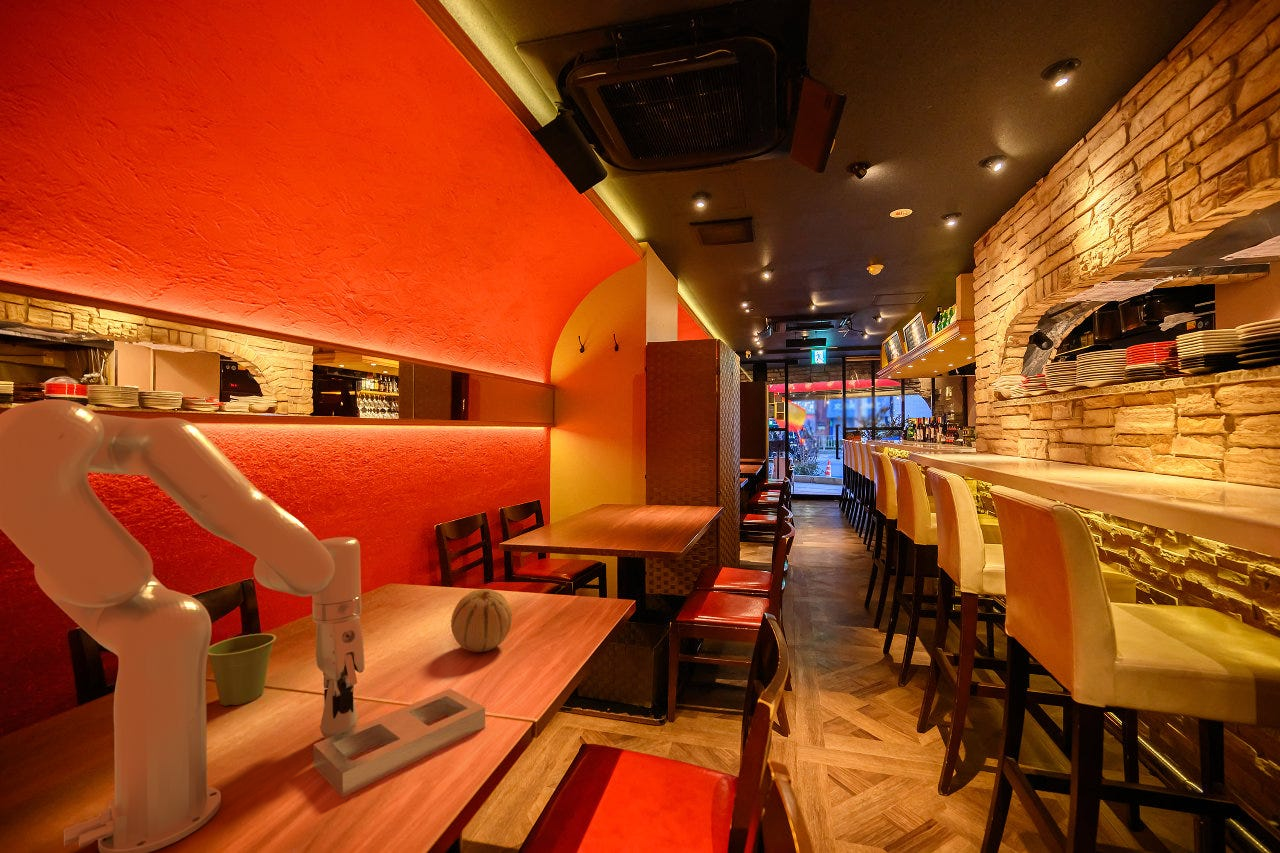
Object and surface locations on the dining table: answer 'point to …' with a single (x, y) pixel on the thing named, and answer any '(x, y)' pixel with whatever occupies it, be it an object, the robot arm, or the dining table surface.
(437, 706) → the beige compartment tray
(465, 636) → the cantaloupe
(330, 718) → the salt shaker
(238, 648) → the plant pot
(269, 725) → the dining table surface
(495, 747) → the dining table surface
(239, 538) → the robot arm
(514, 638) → the dining table surface
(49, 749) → the dining table surface
